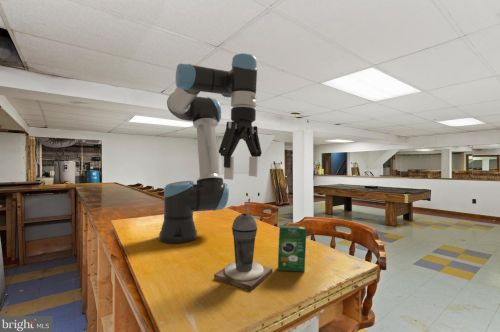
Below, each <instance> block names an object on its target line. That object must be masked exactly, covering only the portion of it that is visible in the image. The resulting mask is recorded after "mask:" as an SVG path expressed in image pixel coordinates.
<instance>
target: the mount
mask: <svg viewBox="0 0 500 332" xmlns="http://www.w3.org/2000/svg"><path fill="white" fill-rule="evenodd" d="M272 273H273V268H271V267H267V266H263V265H262V264H260V263H258V262H255V261H253V264H252V270H251V271H249V272H239V271H237V270H236V264H235V261H232V262H230V263H228V264H227V265H226V266H225V267H224V268H222V269H220V270H219V271H217V272H216V273H214V275H213V279H214V280H216V281H220V282H223V283H226V284H229V285H232V286H236V287H239V288H242V289H244V290H248V291H250V292H251V291H254V290H255V288H257V287H258V286H259V285H260V284H261V283H263V282H264V281H265V280H266V279H267V278H268V277H269V276H270V275H272Z"/></svg>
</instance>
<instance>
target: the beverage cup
mask: <svg viewBox="0 0 500 332" xmlns="http://www.w3.org/2000/svg"><path fill="white" fill-rule="evenodd" d="M250 202H251V198H248V199H247V207H246V212H245V213H241V214H239V215H236V217H235V218H234V220H233V222H232V226H231V230H232V236H233V245H234V262H235V264H236V270H237V271H239V272H249V271H251V270H252V264H253V262H254V254H255V244H256V236H257V231H258V225H257V221H256V219H255V218H254V217H253V216H252V214H251V215H250V214H249V211H250Z"/></svg>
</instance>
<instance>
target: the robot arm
mask: <svg viewBox="0 0 500 332" xmlns="http://www.w3.org/2000/svg"><path fill="white" fill-rule="evenodd" d="M257 64H258V62H257V58H256V57H255V55H253V54H250V53H236V54H235V55H233V57H232V61H231V69H230V70H229V71H228V70H223V69H217V68H211V67H205V66H200V65H194V64H192V63H179V64H177V65H176V69H175V85H176V87H175V89H174V92H172V93H170V95H168V97H167V99H166V100H167V101H166V106H167V108H168V111H169V112H170V113H171V114H172V116H175V117H176V118H177V119H179V120H182V121H187V122H192V125H193V127H194V128H196V135H197V136H196V137H197V138H196V139H197V153H198V168H199V178H198V179H196V183H195V182H194V181H193V180H183V181H175V182H172V183H171V182H170V183H168V184H166V185H165V186H164V190H163V191H164V192H163V223H162V224H161V229H160V231H159V233H158V234H159V235H158V236H159V237H158V238H159V240H158V241H160V242H162V243H165V244H183V243H184V244H185V243H189V242H192V241H194V240H196V239H197V237H198V230H197V229H196V224H195V221H194V212H206V211H207V212H208V211H215V212H216V211H219V210H223V209H224V208H226V206H227V204H228V201H229V191H230V190H229V186H228V184H227V183H225V182H224V180H232V181H233V180H234V168H235V167H234V166H235V162H234V159H235V156H233V154H234V152H235V151H236V148H237V146H238V144H239V142H240V141H241V140H243V141H244V142H245V144H246V146H247V149H248V152H249V154H250V156H249V158H248V159H249V162H248V163H249V164H248V177H258V161H259V160H258V159H259V158H260V157H261V156H262V153H263V152H262V148H261V143H260V138H259V133H258V126H257V125H253V124H252V123H253V122H255V121H256V120H257V117H256V114H257V113H256V112H257V110H256V109H255V108H256V107H257V104H256V103H257V102H256V101H257V79H258V68H257V67H258V65H257ZM200 92H202V93H211V94H218V95H221V96H222V97H223V98H228V99H229V98H231V99H230V106H231V109H230V120H231V121H227V122H226V125H225V126H226V127H225V130H224V133H223V137H222V140H221V143H220V146H219V149H218V147H217V136H216V135H217V134H216V127H217V126H218V124H219V123H220V122H221V120H222V107H221V104H220V102H219V101H218V100H217V99H216V98H211V97H210V96H209V97H206V96H205V97H203V96H198V95H199V94H200ZM218 154H219V155H220V156H221V157H223V168H224V169H223V170H224V172H223V177H222V176H220V172H219V171H220V170H219V168H220V167H219V160H218V159H219V158H218ZM258 157H259V158H258Z"/></svg>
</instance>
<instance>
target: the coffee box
mask: <svg viewBox="0 0 500 332" xmlns="http://www.w3.org/2000/svg"><path fill="white" fill-rule="evenodd" d="M306 249H307V228H306V227H305V226H296V225H295V226H293V225H279V231H278V252H277V253H278V254H277V255H278V256H277V269H278V271H282V272H303V273H304V272H305V270H306Z"/></svg>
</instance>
